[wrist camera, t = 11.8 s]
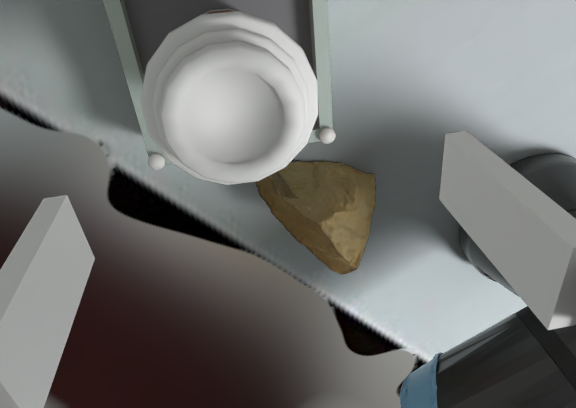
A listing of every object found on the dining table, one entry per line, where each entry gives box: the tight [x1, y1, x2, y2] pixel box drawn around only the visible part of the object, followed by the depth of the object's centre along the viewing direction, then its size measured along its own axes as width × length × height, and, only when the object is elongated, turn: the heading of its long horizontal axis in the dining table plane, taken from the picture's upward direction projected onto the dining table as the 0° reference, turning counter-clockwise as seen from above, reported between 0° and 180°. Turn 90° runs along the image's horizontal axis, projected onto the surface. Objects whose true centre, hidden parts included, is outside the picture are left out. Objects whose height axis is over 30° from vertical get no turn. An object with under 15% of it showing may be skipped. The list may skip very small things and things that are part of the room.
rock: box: [256, 161, 376, 274], centre depth 39 cm, size 11×9×10 cm
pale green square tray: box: [103, 0, 336, 170], centre depth 32 cm, size 14×14×5 cm
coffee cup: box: [140, 8, 318, 185], centre depth 27 cm, size 9×9×12 cm
